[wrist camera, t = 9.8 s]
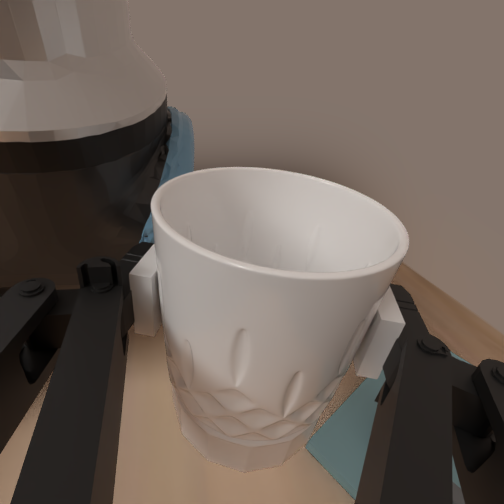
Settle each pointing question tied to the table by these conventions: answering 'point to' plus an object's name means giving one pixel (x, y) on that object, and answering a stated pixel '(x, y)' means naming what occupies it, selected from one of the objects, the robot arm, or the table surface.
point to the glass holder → (356, 438)
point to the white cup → (265, 302)
